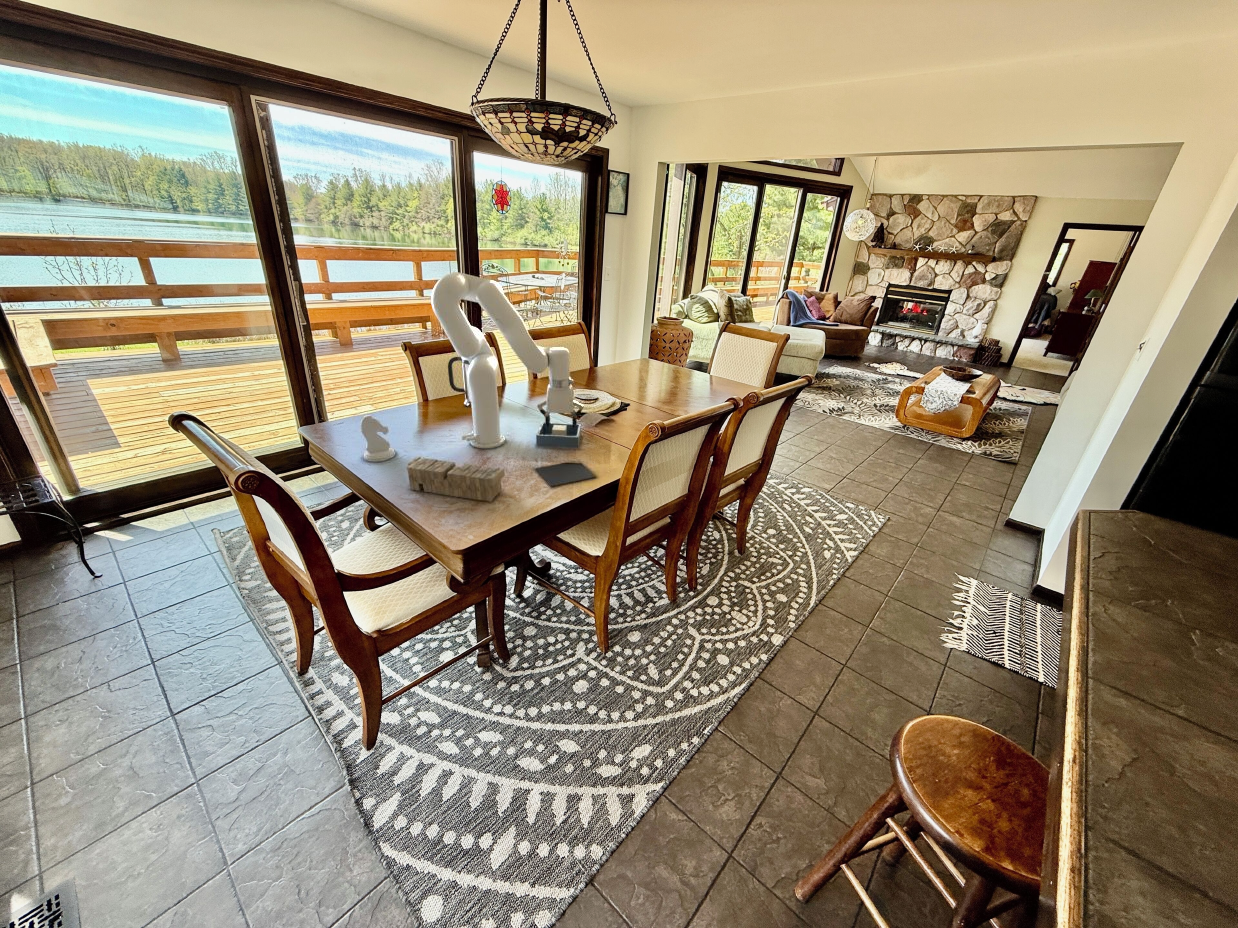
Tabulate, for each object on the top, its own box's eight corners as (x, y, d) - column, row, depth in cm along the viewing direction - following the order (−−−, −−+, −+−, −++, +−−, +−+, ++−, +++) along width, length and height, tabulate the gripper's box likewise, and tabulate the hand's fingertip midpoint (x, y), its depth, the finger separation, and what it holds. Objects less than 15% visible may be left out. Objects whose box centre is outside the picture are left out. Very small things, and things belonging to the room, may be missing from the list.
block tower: (406, 491, 147) (495, 503, 141) (401, 466, 143) (492, 477, 137) (421, 480, 154) (506, 490, 148) (417, 456, 150) (504, 466, 144)
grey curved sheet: (592, 428, 199) (592, 422, 198) (575, 422, 205) (575, 416, 204) (615, 420, 209) (616, 415, 208) (599, 414, 215) (599, 409, 214)
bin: (536, 447, 179) (536, 435, 177) (542, 434, 191) (541, 422, 189) (578, 449, 179) (578, 437, 177) (581, 435, 191) (581, 424, 189)
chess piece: (397, 458, 165) (390, 417, 159) (365, 463, 160) (357, 421, 154) (392, 448, 173) (385, 408, 166) (362, 452, 168) (353, 412, 161)
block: (552, 441, 183) (552, 429, 180) (553, 436, 187) (553, 424, 185) (565, 442, 183) (565, 430, 180) (566, 437, 187) (566, 425, 185)
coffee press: (485, 395, 232) (480, 332, 219) (501, 404, 222) (497, 338, 209) (450, 401, 221) (443, 335, 208) (466, 411, 211) (460, 342, 198)
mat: (551, 487, 152) (551, 486, 152) (535, 469, 163) (535, 468, 162) (596, 477, 159) (596, 476, 159) (578, 461, 170) (578, 460, 170)
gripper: (584, 380, 179) (584, 423, 186) (537, 379, 178) (540, 422, 186) (582, 386, 172) (583, 430, 179) (534, 385, 172) (537, 429, 179)
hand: (561, 426), depth 183 cm, fingers open, 9 cm apart
